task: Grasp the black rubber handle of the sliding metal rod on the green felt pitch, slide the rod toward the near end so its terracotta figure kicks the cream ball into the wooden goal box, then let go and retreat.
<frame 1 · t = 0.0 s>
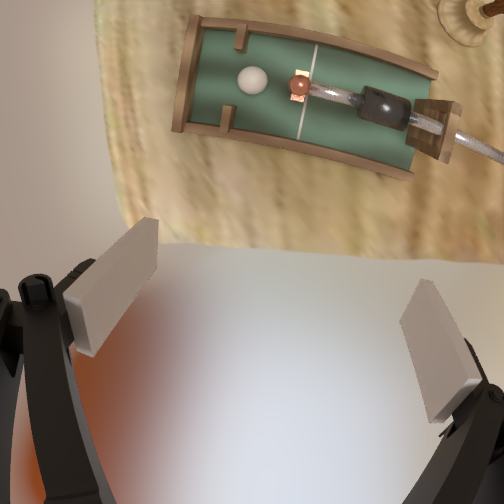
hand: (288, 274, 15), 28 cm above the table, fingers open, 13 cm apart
hand bell: (462, 20, 26), on the table
ball: (254, 81, 34), point 1 cm above the table, touching pitch
pitch: (307, 91, 35), on the table
kicker: (413, 119, 28), point 7 cm above the table, slide at 0.0 cm
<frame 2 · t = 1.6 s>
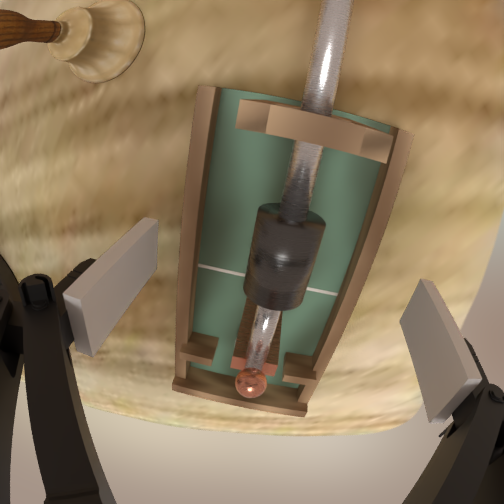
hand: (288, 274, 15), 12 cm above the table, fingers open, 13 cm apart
hand bell: (104, 39, 20), on the table
pitch: (269, 273, 29), on the table
kicker: (300, 165, 17), point 7 cm above the table, slide at 0.0 cm
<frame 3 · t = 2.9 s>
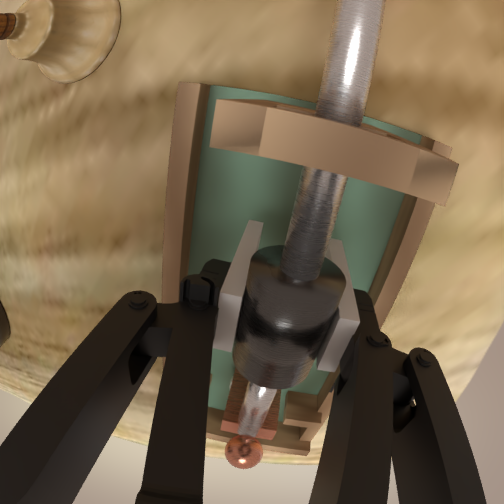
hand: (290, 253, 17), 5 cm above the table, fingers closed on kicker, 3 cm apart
hand bell: (76, 32, 16), on the table
pitch: (270, 307, 24), on the table
kicker: (311, 191, 12), point 7 cm above the table, slide at 0.0 cm, touching gripper
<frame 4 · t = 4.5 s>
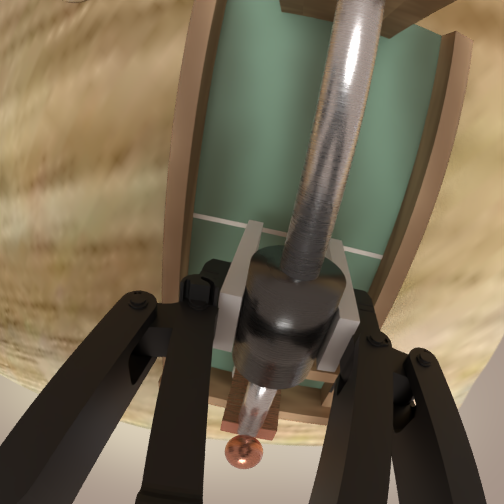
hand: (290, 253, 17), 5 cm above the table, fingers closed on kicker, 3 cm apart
pitch: (290, 228, 21), on the table
kicker: (311, 191, 12), point 7 cm above the table, slide at 6.7 cm, touching gripper
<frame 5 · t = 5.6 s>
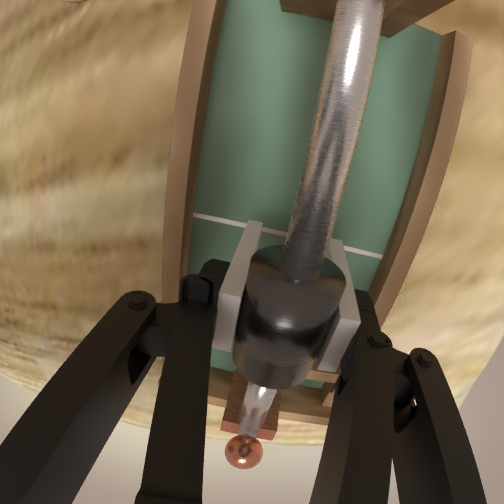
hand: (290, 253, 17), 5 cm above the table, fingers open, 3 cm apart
pitch: (290, 227, 21), on the table
kicker: (311, 191, 12), point 7 cm above the table, slide at 6.8 cm
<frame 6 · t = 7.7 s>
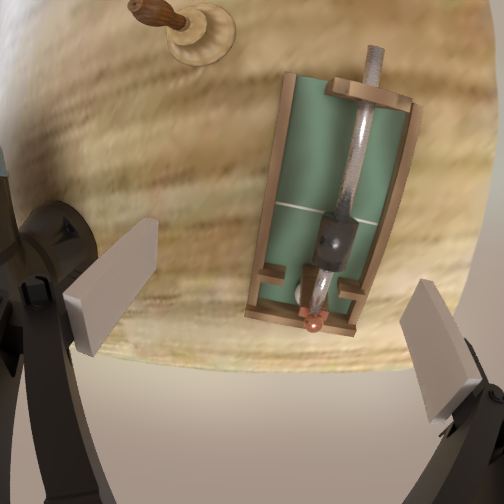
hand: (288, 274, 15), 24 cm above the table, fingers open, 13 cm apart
hand bell: (201, 34, 30), on the table
ball: (311, 290, 38), point 4 cm above the table, tilted 126°, touching pitch
pitch: (327, 209, 37), on the table
kicker: (342, 189, 29), point 7 cm above the table, slide at 6.8 cm
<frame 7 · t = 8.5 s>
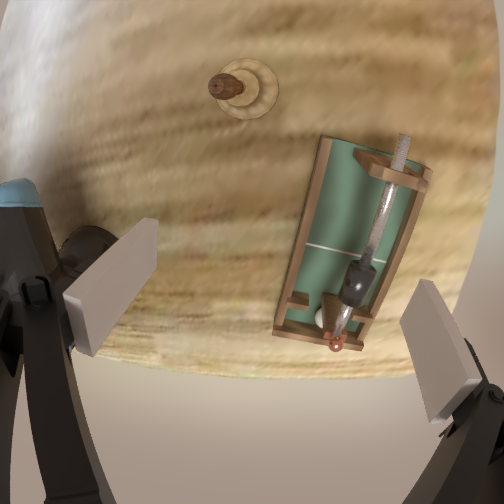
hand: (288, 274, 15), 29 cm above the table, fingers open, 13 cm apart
hand bell: (246, 89, 37), on the table
ball: (329, 315, 46), point 4 cm above the table, tilted 130°, touching pitch
pitch: (345, 249, 45), on the table
kicker: (364, 241, 36), point 7 cm above the table, slide at 6.8 cm
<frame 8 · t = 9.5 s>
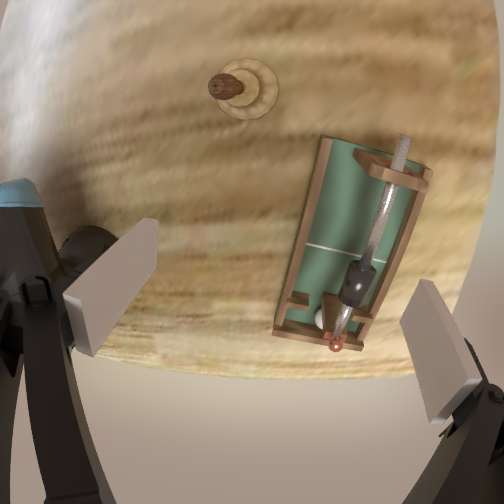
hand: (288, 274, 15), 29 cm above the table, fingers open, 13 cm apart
hand bell: (246, 89, 37), on the table
ball: (328, 317, 46), point 4 cm above the table, tilted 135°, touching pitch
pitch: (345, 249, 45), on the table
kicker: (364, 241, 36), point 7 cm above the table, slide at 6.8 cm
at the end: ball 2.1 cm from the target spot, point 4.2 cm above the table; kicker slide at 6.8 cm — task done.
